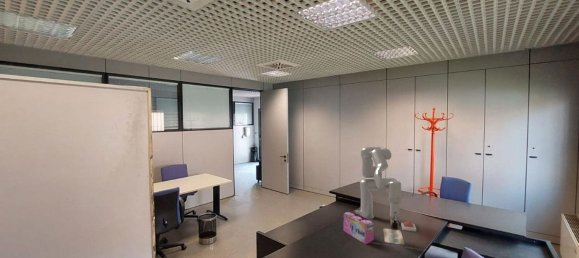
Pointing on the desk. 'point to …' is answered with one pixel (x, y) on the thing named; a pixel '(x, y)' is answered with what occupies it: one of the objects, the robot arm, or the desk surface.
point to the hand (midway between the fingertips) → (394, 226)
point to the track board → (393, 236)
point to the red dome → (408, 224)
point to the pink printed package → (359, 227)
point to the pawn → (391, 224)
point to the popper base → (408, 227)
